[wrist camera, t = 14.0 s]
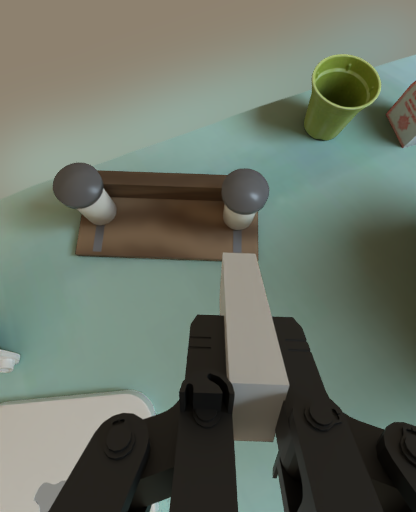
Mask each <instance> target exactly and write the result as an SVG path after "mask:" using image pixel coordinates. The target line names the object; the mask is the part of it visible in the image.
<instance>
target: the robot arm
mask: <svg viewBox="0 0 416 512" xmlns="http://www.w3.org/2000/svg"><path fill="white" fill-rule="evenodd" d="M275 433H276V438H277V443H278V449H279V451H278V454H277V457H276V460H275V464H274V467H273V478H277V475H278V476H279V482H280V488H281V494H282V500H283V506H284V512H416V426H413V425H410V424H407V423H404V422H394V423H392V424H390V425H388V426H387V427H386V428H385V430H384V429H381V428H378V427H375V426H372V425H369V424H366V423H364V422H361V421H358V420H356V419H354V418H351V417H349V416H348V415H346V414H345V413H343V412H342V411H341V409H340V408H339V407H338V406H337V405H336V404H335V403H334V402H333V401H332V400H331V399H330V398H329V397H328V395H327V393H326V391H325V388H324V385H323V383H322V380H321V377H320V375H319V372H318V369H317V367H316V364H315V361H314V359H313V356H312V353H311V352H310V348H309V345H308V343H307V342H306V337H305V335H304V332H303V329H302V327H301V326H300V325H299V324H298V323H297V322H296V321H295V320H294V318H293V317H272V315H271V312H270V308H269V304H268V300H267V296H266V292H265V288H264V284H263V281H262V277H261V273H260V269H259V265H258V261H257V257H256V254H250V253H223V255H222V270H221V285H220V315H197V316H196V317H195V319H194V320H193V322H192V323H191V326H190V336H189V345H188V355H187V365H186V375H185V380H184V381H183V382H182V385H181V388H180V391H179V401H178V402H177V403H176V404H175V405H174V406H173V407H172V408H170V409H169V410H168V411H165V412H163V413H161V414H158V415H155V416H152V417H148V418H145V419H142V418H140V417H139V416H137V415H135V414H133V413H121V414H117V415H114V416H112V417H110V418H109V419H107V420H106V421H104V422H103V423H102V424H101V425H100V427H99V428H98V429H97V430H96V432H95V433H94V434H93V436H92V438H91V440H90V441H89V443H88V445H87V446H86V448H85V450H84V451H83V453H82V455H81V457H80V458H79V460H78V462H77V463H76V465H75V467H74V468H73V470H72V472H71V474H70V475H69V477H68V479H67V480H66V482H65V484H64V486H63V487H62V489H61V491H60V492H59V494H58V496H57V497H56V499H55V501H54V503H53V504H52V506H51V508H50V509H49V511H48V512H150V509H151V506H152V504H154V503H157V502H159V501H162V500H164V499H167V498H169V497H171V501H170V511H169V512H238V502H237V485H236V468H235V451H234V440H235V441H262V442H273V440H274V437H275Z"/></svg>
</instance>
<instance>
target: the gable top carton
mask: <svg viewBox="0 0 416 512" xmlns="http://www.w3.org/2000/svg"><path fill="white" fill-rule="evenodd" d="M386 116H387V118H388V120H389V122H390V124H391V126H392V128H393V130H394V132H395V134H396V136H397V138H398V140H399V142H400V144H401V146H402V148H405V147H409V146H413V145H416V81H415V82H414V83H412V84H411V85H410V86H409V88H408V89H407V90H406V91H405V92H404V93H403V95H402V96H401V97H400V98H399V99H398V101H397V102H396V103H395V104H394V105H393V107H392V108H391V109H390V110H389V111H388V112H387V114H386Z"/></svg>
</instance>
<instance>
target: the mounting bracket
mask: <svg viewBox="0 0 416 512" xmlns="http://www.w3.org/2000/svg"><path fill="white" fill-rule="evenodd" d="M19 361H20V355H19V354H18V353H14V352H10V351H5V350H1V349H0V372H1V373H7V372H11V371H13V368H14V365H15V364H18V363H19Z"/></svg>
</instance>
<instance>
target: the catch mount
mask: <svg viewBox="0 0 416 512" xmlns="http://www.w3.org/2000/svg"><path fill="white" fill-rule="evenodd" d="M97 172H98V173H99V174H100V176H101V178H102V180H103V185H104V187H103V188H104V190H105V191H106V192H107V194H108V195H109V196H110V198H111V199H112V200H113V202H114V203H115V205H116V209H117V212H116V215H115V217H114V219H113V220H112V221H111V222H109V223H107V224H105V225H95V224H93V223H91V222H90V221H89V220H88V219H87V218H86V217H85V216H84V215H83V214H82V216H81V222H80V229H79V235H78V241H77V247H76V253H75V254H76V255H78V256H95V257H123V258H150V259H178V260H206V261H222V255H223V253H250V254H256V257H257V261H258V211H257V212H256V213H255V216H254V218H253V220H252V222H251V224H250V225H249V226H248V227H247V228H245V229H243V230H234V229H231V228H230V227H228V226H227V225H226V224H225V222H224V220H223V211H224V202H223V200H222V195H221V191H222V184H223V181H224V179H225V178H226V177H227V175H209V174H181V173H153V172H125V171H97Z"/></svg>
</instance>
